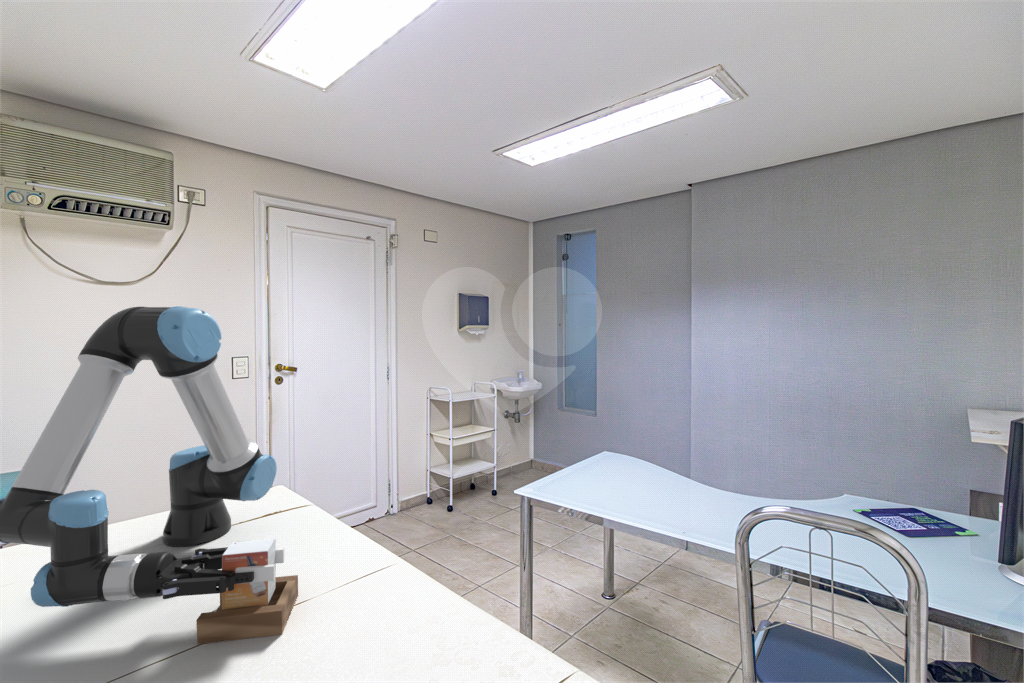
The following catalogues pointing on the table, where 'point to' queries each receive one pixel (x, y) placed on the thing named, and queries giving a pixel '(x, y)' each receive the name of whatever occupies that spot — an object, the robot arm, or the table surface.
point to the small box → (245, 557)
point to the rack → (250, 616)
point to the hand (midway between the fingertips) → (279, 563)
